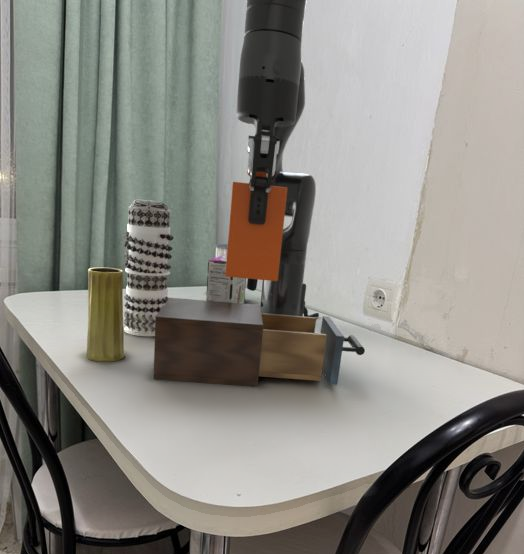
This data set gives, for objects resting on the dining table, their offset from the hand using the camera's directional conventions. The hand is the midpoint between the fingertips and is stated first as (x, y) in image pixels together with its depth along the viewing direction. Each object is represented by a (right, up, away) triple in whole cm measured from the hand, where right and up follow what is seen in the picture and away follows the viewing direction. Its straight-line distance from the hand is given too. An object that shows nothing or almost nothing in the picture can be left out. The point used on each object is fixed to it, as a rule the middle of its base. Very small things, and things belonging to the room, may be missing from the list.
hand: (256, 222), depth 67 cm
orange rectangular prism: (-1, -7, +2) cm, 7 cm away
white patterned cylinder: (-22, -13, +34) cm, 43 cm away
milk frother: (-10, -2, +74) cm, 75 cm away
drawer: (+7, -20, +16) cm, 27 cm away
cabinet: (-8, -20, +16) cm, 26 cm away
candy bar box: (-7, -16, +30) cm, 35 cm away
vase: (-25, -18, +16) cm, 35 cm away
